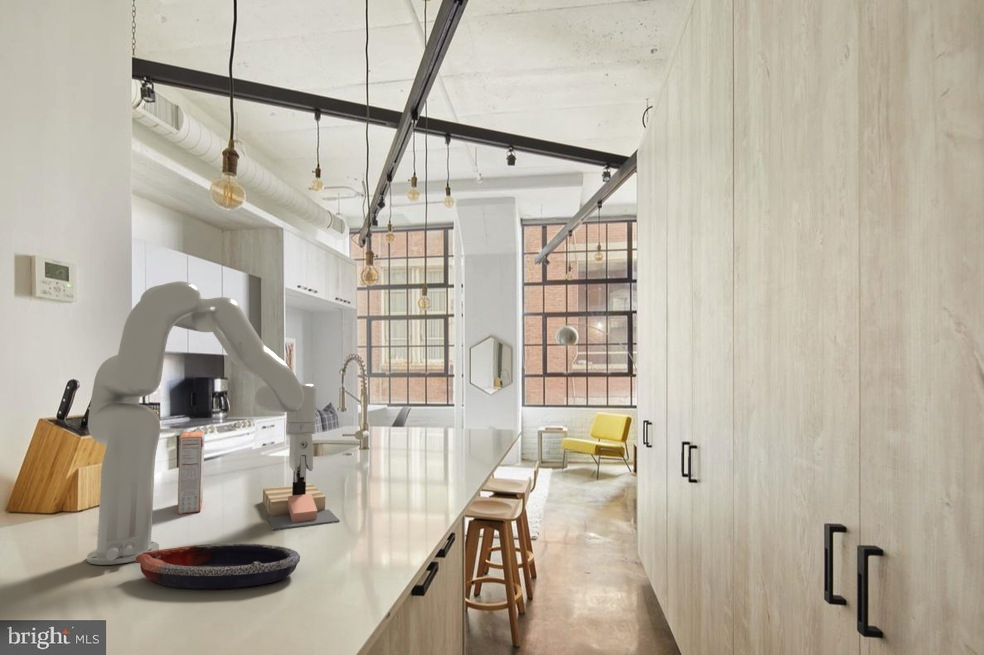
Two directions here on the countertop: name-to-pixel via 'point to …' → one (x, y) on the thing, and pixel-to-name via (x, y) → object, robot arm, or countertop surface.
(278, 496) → the wooden block
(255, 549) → the dish
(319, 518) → the mat
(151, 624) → the countertop surface
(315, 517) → the pink rectangular block
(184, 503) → the cracker box
